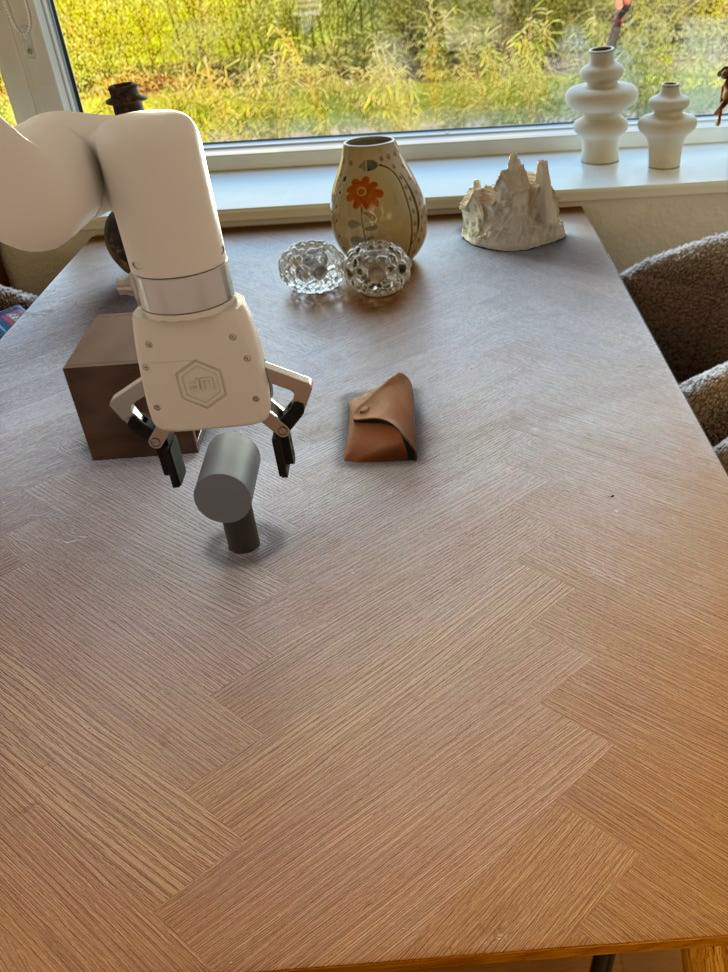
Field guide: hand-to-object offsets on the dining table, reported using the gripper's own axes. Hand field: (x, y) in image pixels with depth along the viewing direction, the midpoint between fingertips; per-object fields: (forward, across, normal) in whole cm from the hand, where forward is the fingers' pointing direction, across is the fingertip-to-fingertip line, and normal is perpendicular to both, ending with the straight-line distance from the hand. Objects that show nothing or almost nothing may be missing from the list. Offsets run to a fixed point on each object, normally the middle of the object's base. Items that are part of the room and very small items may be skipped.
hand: (232, 475), depth 87 cm
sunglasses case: (+9, +12, +23) cm, 28 cm away
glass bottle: (+8, -23, +86) cm, 89 cm away
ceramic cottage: (+9, +35, +95) cm, 102 cm away
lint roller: (+9, -1, 0) cm, 9 cm away
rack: (+8, -15, +30) cm, 34 cm away
